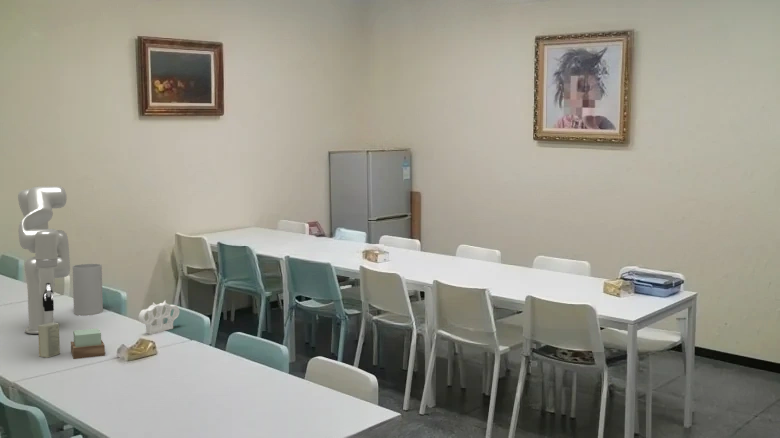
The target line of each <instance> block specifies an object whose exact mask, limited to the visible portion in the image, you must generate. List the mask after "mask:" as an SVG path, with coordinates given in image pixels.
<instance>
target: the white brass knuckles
mask: <svg viewBox="0 0 780 438" xmlns="http://www.w3.org/2000/svg"><path fill="white" fill-rule="evenodd" d="M166 301H167V300H163V302H160V303H158V304H156V303H155V302H154V301H153V302H152V304H151V305H149V306H148V307H147V308H145V309H141V311H140V312H139V314H138V320H139V322H140V323H141V324H144V325H145V328H146V329H145V333H146V334H147V335H154V334H157V333H162V332H164V331H168V330H173V329H174V321H175V320H176V319H177V318H179V316H180V308H179V306H177V305H176V304H169V303H167V302H166ZM164 308H165V311H164V313H163V310H164ZM155 310H156V314H155V315H154V311H155ZM172 310H173V313H172V315H171V312H172ZM146 315H147V316H148V317H147V320H146V319H145V317H146ZM164 319H167V321H166V323H163V322H164ZM155 320H156V324H154V325H152V324H153V323H154V321H155Z"/></svg>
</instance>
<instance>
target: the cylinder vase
mask: <svg viewBox="0 0 780 438" xmlns="http://www.w3.org/2000/svg"><path fill="white" fill-rule="evenodd" d="M102 267H103V266H102V264H100V263H84V264H83V263H82V264H75V265H72V293H73V297H72V298H73V299H72V300H73V314H74V316H79V315H80V316H82V317H86V316H88V315H89V316H95V315H100V314H101V313H103V311H104V307H103V305H104V303H103V302H104V300H103V271H102V269H103V268H102ZM80 316H79V317H80Z"/></svg>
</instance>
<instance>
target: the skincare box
mask: <svg viewBox="0 0 780 438" xmlns="http://www.w3.org/2000/svg"><path fill="white" fill-rule="evenodd" d="M38 332H39V334H38V354H39V357H41V358H51V357H55V356H58V355H59V354H61V347H60V346H61V345H60V322H55V321H53V322H49V323H45V324H42V325H38Z"/></svg>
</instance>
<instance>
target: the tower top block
mask: <svg viewBox="0 0 780 438" xmlns="http://www.w3.org/2000/svg"><path fill="white" fill-rule="evenodd" d="M72 332H73V336H72V337H73V342H74V344H75V347H84V346H94V345H101V340H102V332H101V331H100V329H99V328H98V327H97V328H87V329H76V330H73V331H72Z"/></svg>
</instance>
